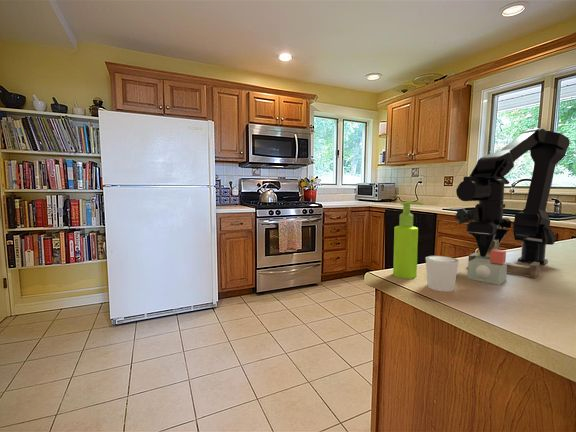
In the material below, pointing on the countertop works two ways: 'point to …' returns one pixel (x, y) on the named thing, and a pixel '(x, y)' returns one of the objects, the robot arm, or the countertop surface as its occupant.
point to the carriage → (493, 246)
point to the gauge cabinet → (487, 271)
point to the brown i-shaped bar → (519, 268)
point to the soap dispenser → (405, 244)
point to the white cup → (441, 272)
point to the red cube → (497, 256)
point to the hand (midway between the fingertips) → (488, 254)
